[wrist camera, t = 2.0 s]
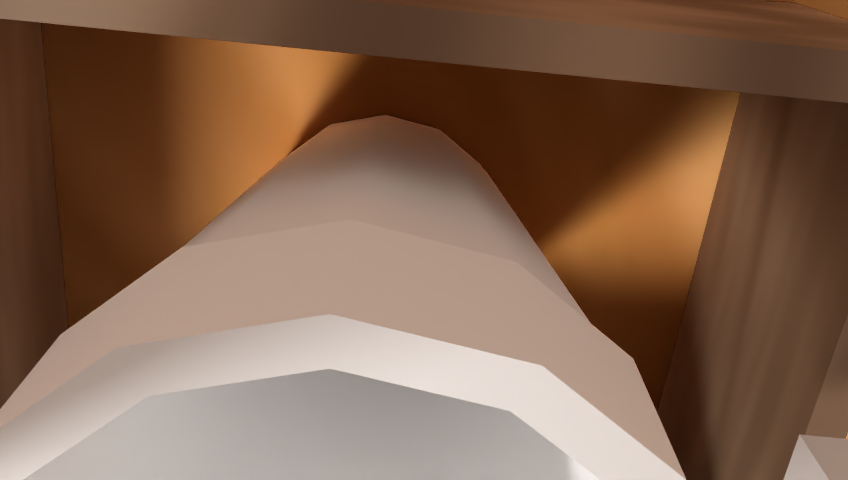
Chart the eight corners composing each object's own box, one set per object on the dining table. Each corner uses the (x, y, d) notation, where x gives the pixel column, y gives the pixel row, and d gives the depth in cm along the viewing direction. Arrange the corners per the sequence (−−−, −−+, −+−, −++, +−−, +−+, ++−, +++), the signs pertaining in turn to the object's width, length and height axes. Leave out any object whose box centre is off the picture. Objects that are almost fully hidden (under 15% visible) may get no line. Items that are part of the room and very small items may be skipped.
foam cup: (298, -21, 19) (84, 147, 7) (628, 160, 21) (906, 539, 9) (153, 296, 22) (-159, 773, 10) (446, 429, 24) (469, 964, 12)
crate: (48, 414, 24) (-90, 610, 17) (-5, -80, 18) (-236, -60, 12) (670, 464, 24) (756, 670, 18) (797, 4, 19) (987, 64, 13)
